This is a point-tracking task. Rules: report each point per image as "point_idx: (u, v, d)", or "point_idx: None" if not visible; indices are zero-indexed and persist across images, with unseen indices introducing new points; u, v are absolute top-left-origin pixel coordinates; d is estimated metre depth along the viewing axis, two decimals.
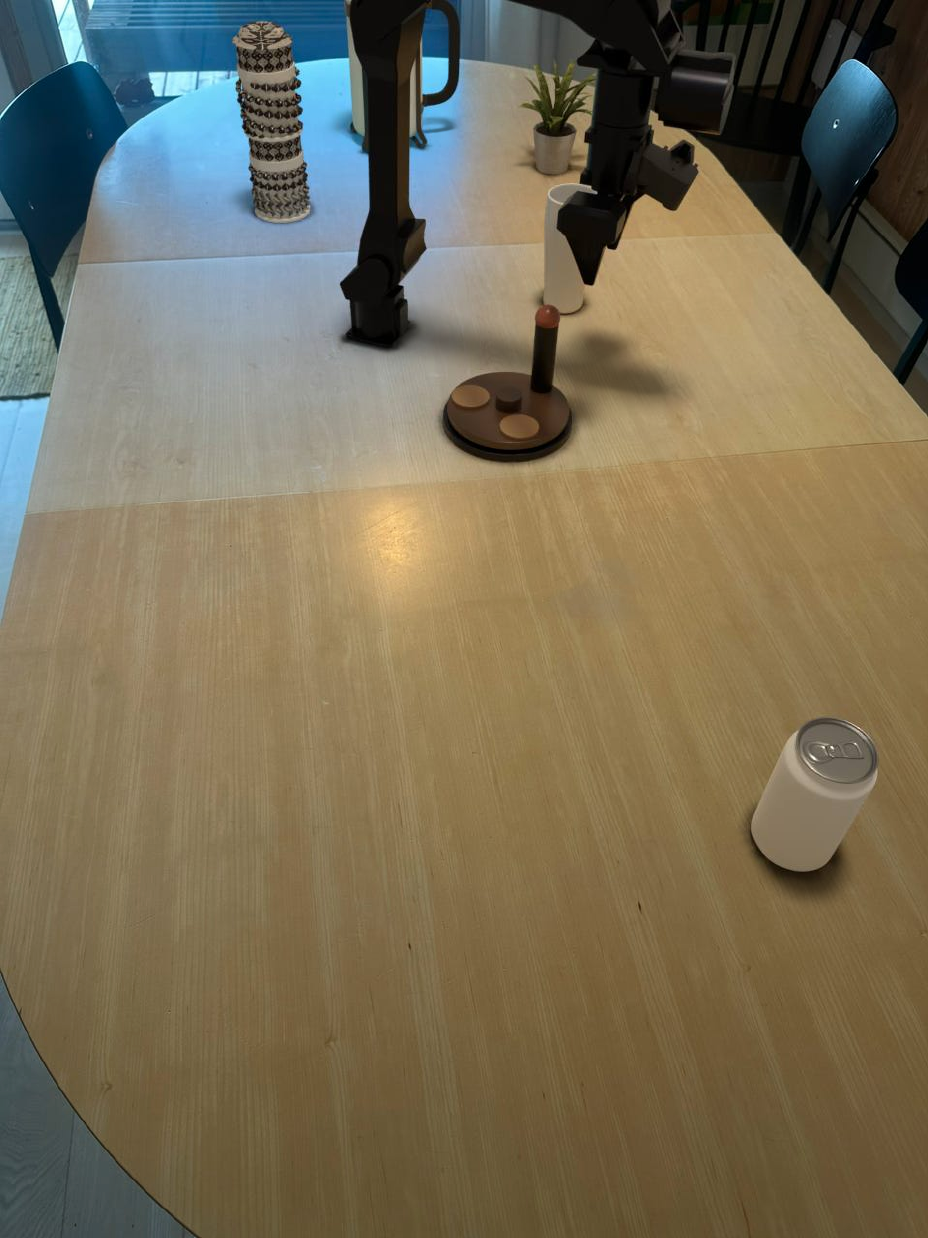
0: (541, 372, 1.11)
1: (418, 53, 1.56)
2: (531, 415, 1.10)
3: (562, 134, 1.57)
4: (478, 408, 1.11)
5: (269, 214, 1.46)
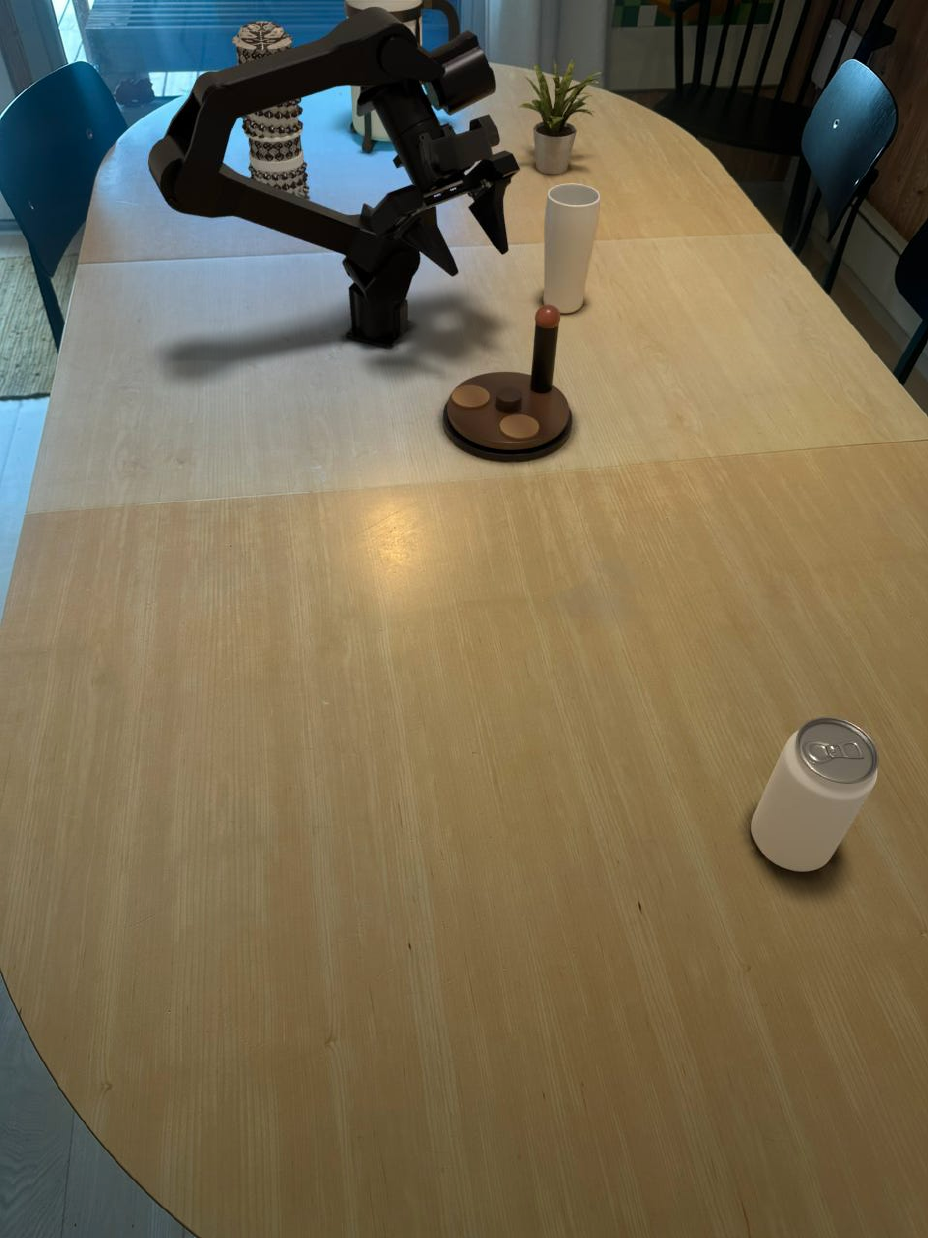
0: (541, 372, 1.11)
1: None
2: (531, 415, 1.10)
3: (562, 134, 1.57)
4: (478, 408, 1.11)
5: None
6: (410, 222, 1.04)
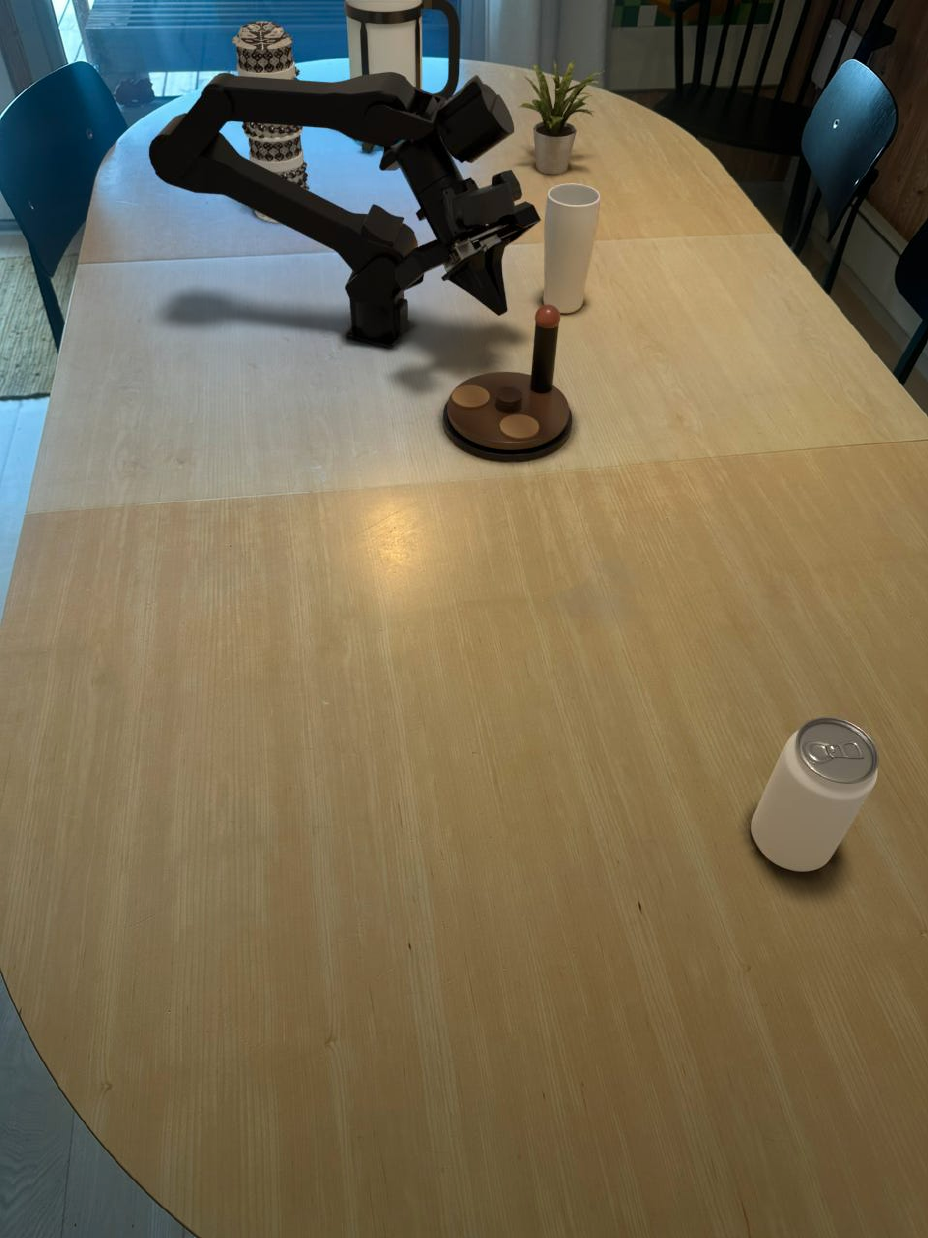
0: (541, 372, 1.11)
1: (418, 53, 1.56)
2: (531, 415, 1.10)
3: (562, 134, 1.57)
4: (478, 408, 1.11)
5: None
6: (459, 265, 1.08)
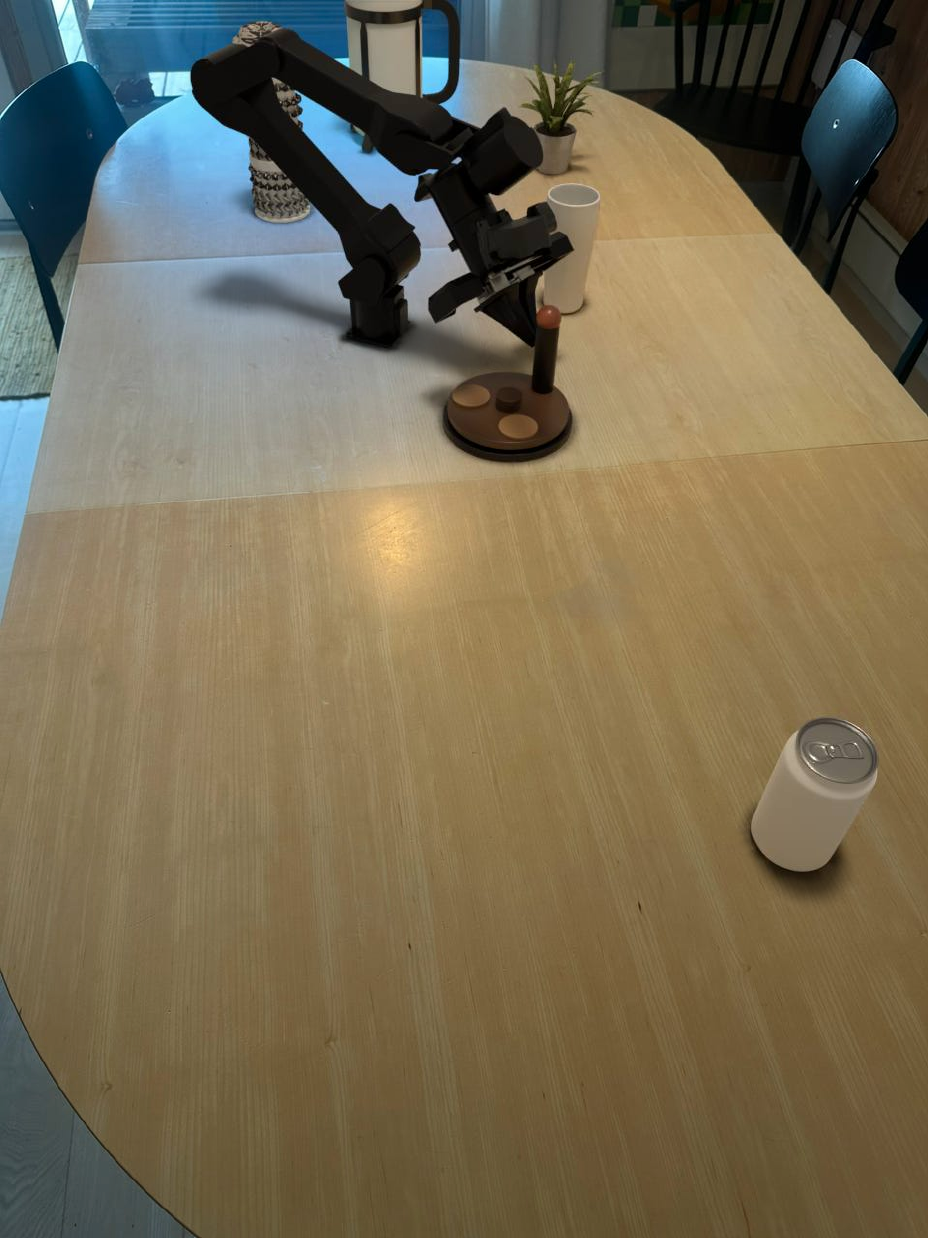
0: (541, 372, 1.11)
1: (418, 53, 1.56)
2: (531, 415, 1.10)
3: (562, 134, 1.57)
4: (478, 407, 1.11)
5: (269, 214, 1.46)
6: (493, 298, 1.07)
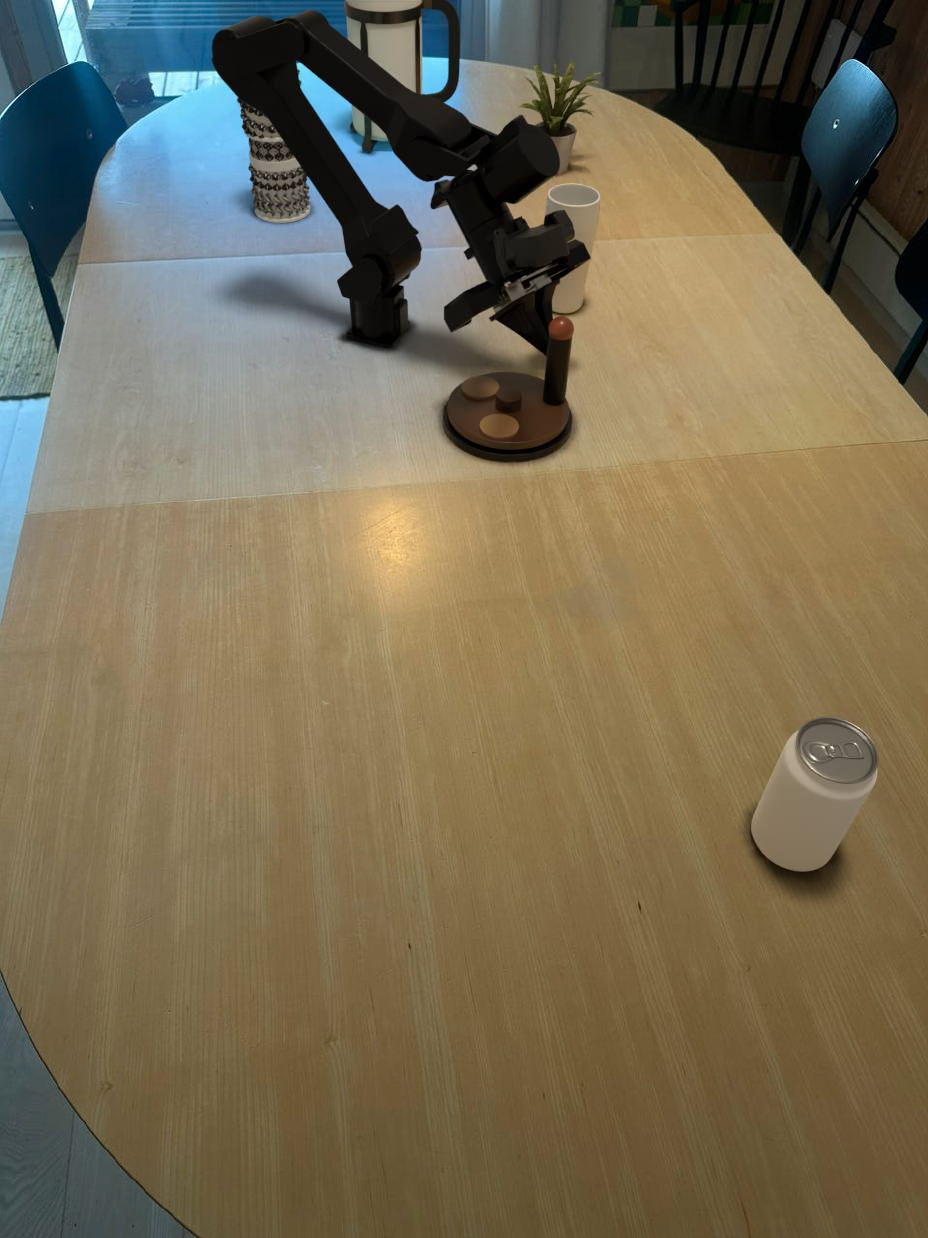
0: (548, 382, 1.09)
1: (418, 53, 1.56)
2: (521, 420, 1.09)
3: (562, 134, 1.57)
4: (479, 399, 1.12)
5: (269, 214, 1.46)
6: (509, 307, 1.05)
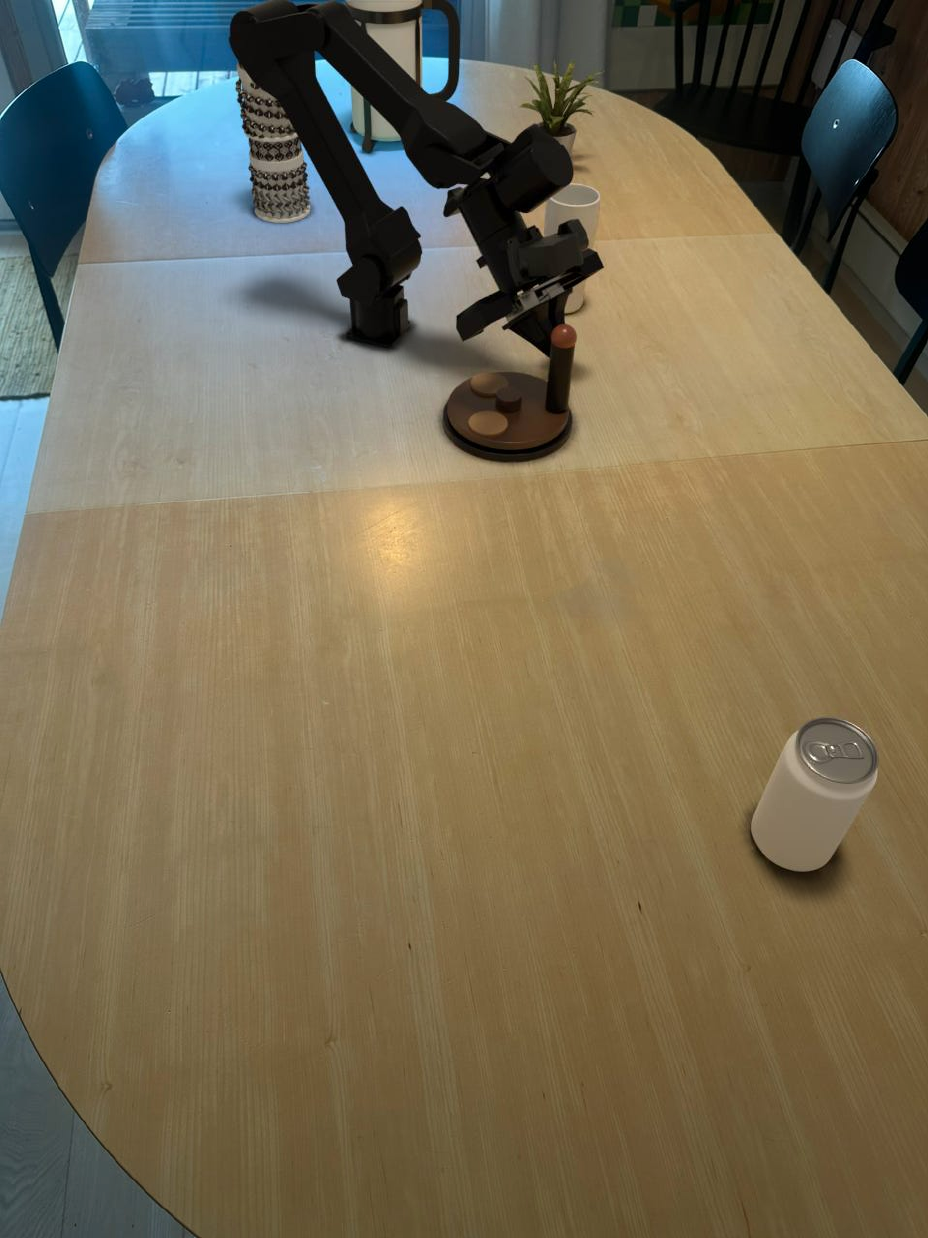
0: (549, 389, 1.08)
1: (418, 53, 1.56)
2: (513, 421, 1.09)
3: (562, 134, 1.57)
4: (482, 395, 1.12)
5: (269, 214, 1.46)
6: (523, 316, 1.05)
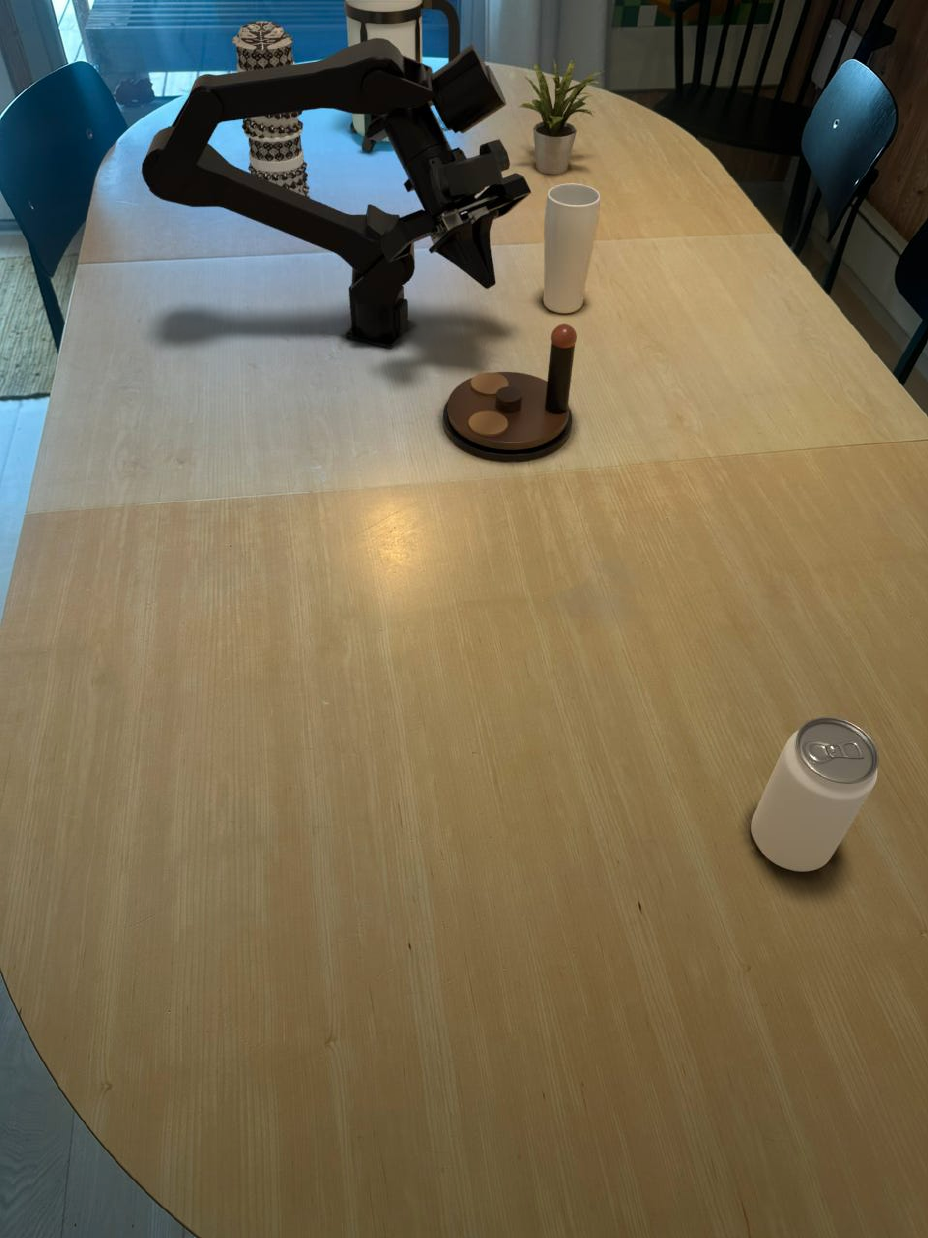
0: (549, 389, 1.08)
1: (418, 53, 1.56)
2: (513, 421, 1.09)
3: (562, 134, 1.57)
4: (482, 395, 1.12)
5: None
6: (446, 236, 1.07)
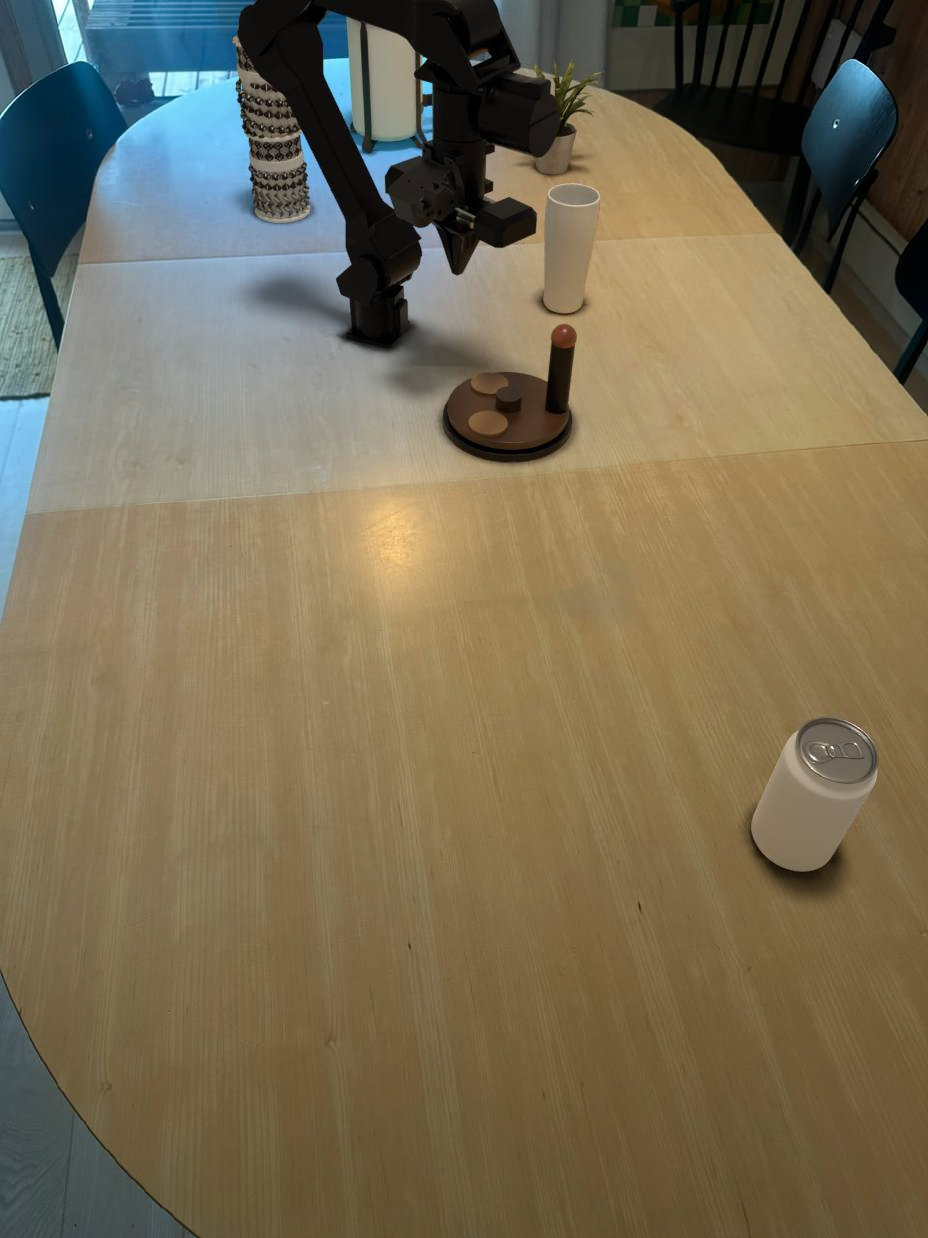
0: (549, 389, 1.08)
1: None
2: (513, 421, 1.09)
3: (562, 134, 1.57)
4: (482, 395, 1.12)
5: (269, 214, 1.46)
6: None
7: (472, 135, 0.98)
